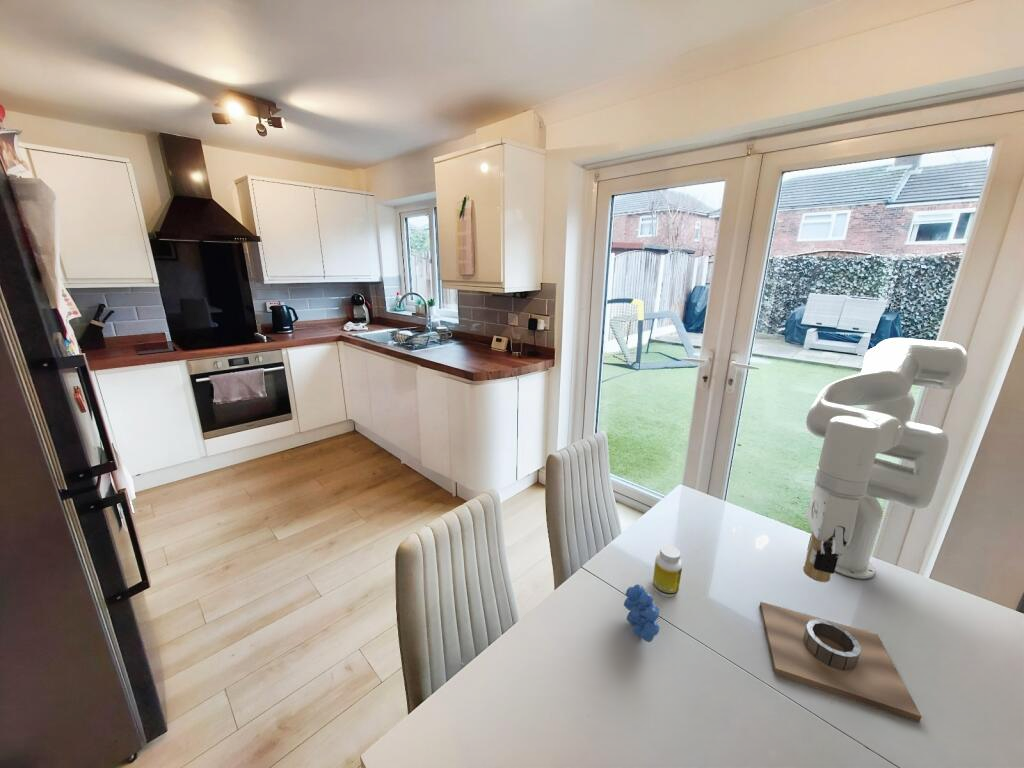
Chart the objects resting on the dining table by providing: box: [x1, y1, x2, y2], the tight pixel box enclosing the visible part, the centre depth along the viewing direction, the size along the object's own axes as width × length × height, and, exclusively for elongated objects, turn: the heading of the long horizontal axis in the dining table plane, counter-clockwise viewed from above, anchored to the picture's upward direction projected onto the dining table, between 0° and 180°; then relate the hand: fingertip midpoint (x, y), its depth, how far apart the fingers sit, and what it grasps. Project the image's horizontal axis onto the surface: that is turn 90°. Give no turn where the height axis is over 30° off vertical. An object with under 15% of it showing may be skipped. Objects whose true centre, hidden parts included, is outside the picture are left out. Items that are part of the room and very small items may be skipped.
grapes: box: [623, 583, 660, 643], centre depth 85 cm, size 12×7×12 cm, turn 12°
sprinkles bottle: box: [802, 532, 833, 583], centre depth 78 cm, size 5×5×13 cm
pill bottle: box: [652, 544, 683, 598], centre depth 98 cm, size 6×6×11 cm
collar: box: [803, 618, 861, 671], centre depth 81 cm, size 9×9×4 cm
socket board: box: [758, 601, 922, 723], centre depth 82 cm, size 18×22×2 cm
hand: (820, 561), depth 79 cm, fingers closed on sprinkles bottle, 4 cm apart
